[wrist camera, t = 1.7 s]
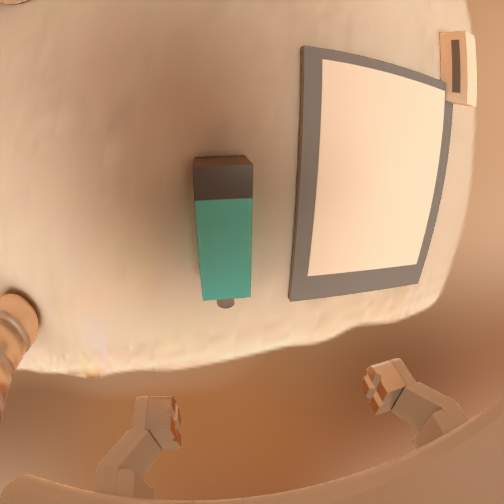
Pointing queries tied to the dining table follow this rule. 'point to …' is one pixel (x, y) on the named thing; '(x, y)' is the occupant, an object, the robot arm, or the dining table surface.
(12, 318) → the plastic bottle
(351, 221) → the writing board
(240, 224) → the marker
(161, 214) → the dining table surface
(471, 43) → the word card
